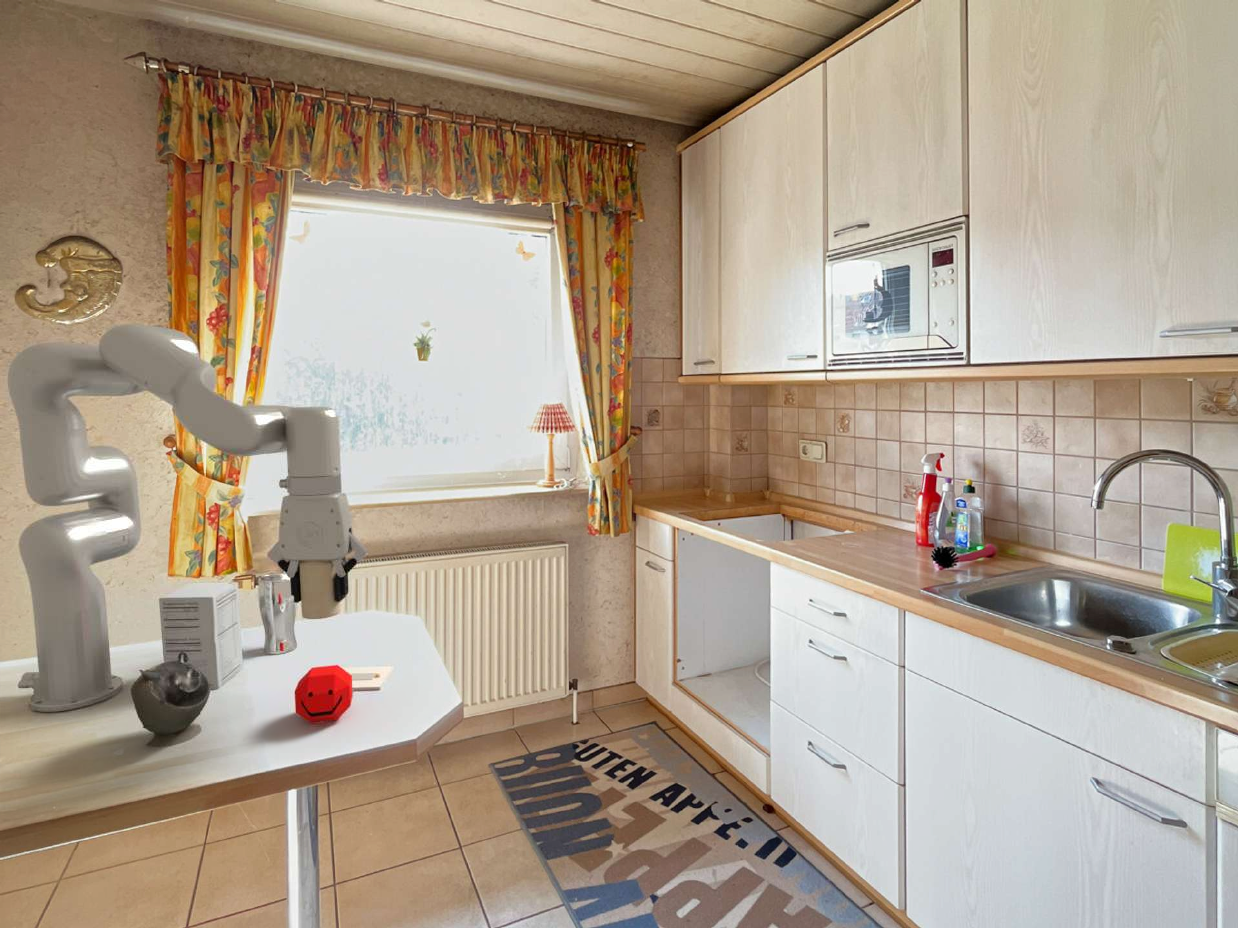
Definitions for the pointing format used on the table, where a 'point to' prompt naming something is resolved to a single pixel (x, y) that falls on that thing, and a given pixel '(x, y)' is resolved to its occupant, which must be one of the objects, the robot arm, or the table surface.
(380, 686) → the card
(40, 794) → the table surface
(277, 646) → the beer glass
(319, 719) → the ball
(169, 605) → the supplement box
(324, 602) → the candle
